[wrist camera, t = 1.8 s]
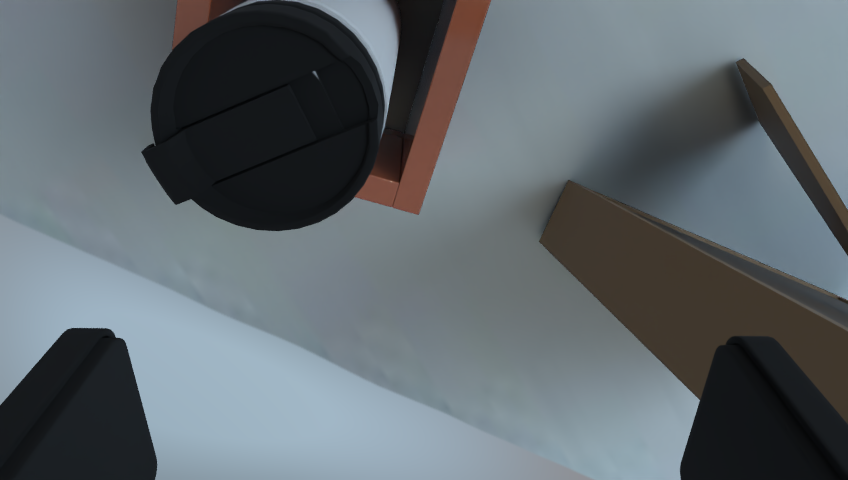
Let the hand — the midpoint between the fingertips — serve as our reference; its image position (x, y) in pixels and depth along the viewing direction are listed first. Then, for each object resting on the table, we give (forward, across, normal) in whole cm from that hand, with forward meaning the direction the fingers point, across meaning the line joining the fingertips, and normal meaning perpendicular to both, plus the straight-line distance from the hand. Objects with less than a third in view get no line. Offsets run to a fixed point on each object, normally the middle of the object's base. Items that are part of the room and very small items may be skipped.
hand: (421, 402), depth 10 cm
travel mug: (+28, +4, -2) cm, 29 cm away
